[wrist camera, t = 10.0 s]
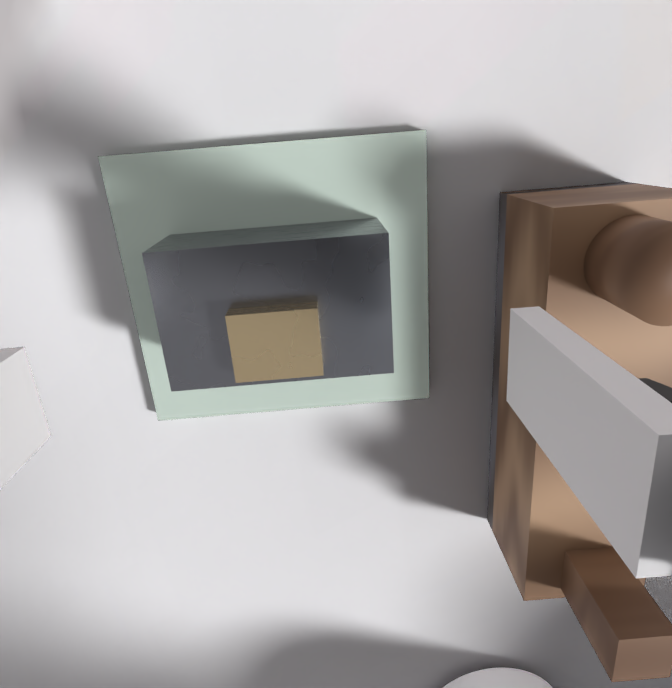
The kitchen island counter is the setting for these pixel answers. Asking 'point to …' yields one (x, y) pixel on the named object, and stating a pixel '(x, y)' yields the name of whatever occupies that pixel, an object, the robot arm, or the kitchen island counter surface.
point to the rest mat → (275, 210)
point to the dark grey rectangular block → (273, 303)
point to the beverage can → (499, 679)
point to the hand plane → (619, 345)
